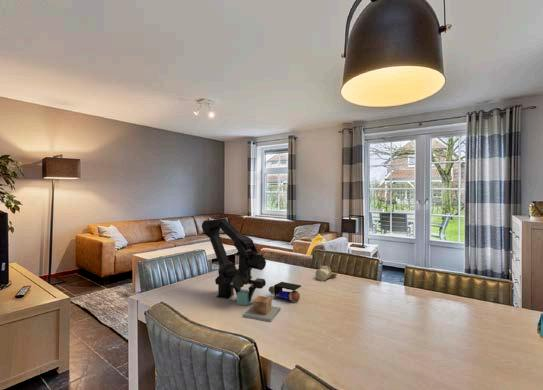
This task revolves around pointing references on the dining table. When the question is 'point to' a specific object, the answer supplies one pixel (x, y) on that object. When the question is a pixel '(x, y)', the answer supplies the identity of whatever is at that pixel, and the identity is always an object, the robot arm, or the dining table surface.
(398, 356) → the dining table surface
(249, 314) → the base plate
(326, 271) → the ceramic sculpture
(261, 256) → the robot arm
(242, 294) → the teal block
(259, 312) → the walnut block
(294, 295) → the figurine character
